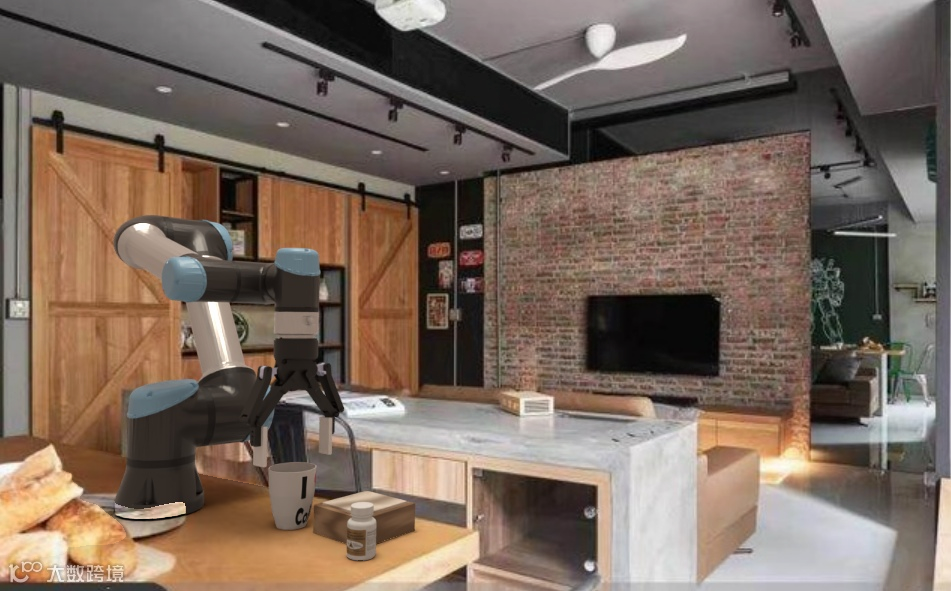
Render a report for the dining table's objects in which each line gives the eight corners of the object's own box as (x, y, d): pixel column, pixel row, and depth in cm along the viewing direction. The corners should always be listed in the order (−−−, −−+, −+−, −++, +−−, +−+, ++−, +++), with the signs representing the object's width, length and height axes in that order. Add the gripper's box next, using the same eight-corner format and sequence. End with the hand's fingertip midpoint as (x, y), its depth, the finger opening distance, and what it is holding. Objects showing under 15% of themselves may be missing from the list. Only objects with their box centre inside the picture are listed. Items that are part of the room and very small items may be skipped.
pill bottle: (340, 557, 100) (341, 505, 100) (359, 548, 103) (360, 499, 104) (362, 563, 97) (363, 510, 98) (381, 554, 101) (382, 503, 101)
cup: (302, 534, 109) (303, 474, 110) (257, 530, 111) (259, 470, 111) (323, 520, 117) (324, 463, 118) (281, 516, 119) (282, 460, 119)
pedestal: (313, 532, 111) (314, 502, 111) (366, 516, 120) (367, 488, 120) (361, 549, 103) (362, 517, 103) (414, 530, 113) (415, 500, 113)
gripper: (245, 338, 103) (242, 475, 102) (364, 336, 123) (362, 451, 122) (218, 337, 108) (215, 468, 107) (337, 335, 127) (336, 446, 126)
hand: (294, 459), depth 114 cm, fingers open, 13 cm apart
